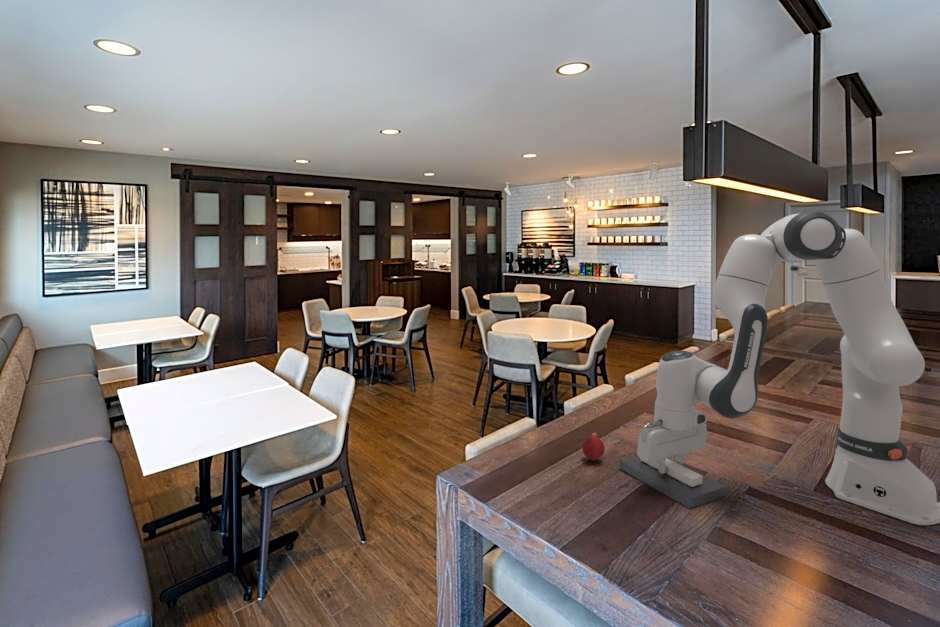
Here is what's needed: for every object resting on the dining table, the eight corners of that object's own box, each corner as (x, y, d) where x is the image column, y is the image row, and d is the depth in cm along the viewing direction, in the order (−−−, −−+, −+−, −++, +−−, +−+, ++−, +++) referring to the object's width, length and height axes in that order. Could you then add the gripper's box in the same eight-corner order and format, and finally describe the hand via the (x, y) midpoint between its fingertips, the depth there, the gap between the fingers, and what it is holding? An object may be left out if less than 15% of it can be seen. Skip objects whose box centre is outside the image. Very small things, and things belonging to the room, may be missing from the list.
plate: (725, 496, 119) (725, 486, 118) (689, 508, 113) (690, 498, 113) (652, 459, 138) (653, 451, 137) (619, 469, 132) (620, 460, 132)
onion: (588, 466, 134) (589, 438, 133) (578, 457, 139) (579, 430, 138) (607, 464, 135) (609, 435, 134) (596, 455, 141) (598, 428, 140)
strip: (701, 491, 119) (702, 475, 119) (691, 495, 118) (692, 479, 117) (649, 464, 133) (650, 450, 133) (639, 467, 132) (640, 452, 131)
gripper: (652, 428, 116) (649, 485, 118) (712, 414, 125) (708, 467, 127) (632, 419, 121) (629, 474, 123) (691, 406, 130) (687, 457, 132)
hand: (670, 470), depth 125 cm, fingers closed on strip, 3 cm apart
